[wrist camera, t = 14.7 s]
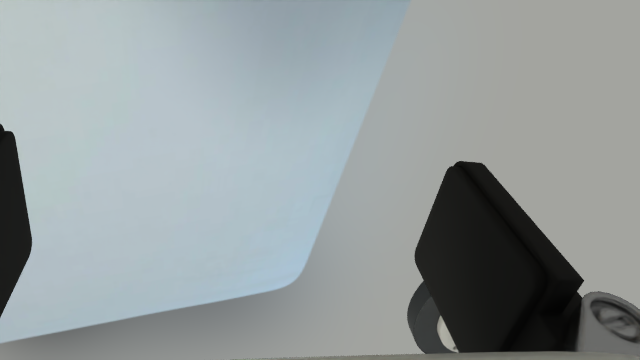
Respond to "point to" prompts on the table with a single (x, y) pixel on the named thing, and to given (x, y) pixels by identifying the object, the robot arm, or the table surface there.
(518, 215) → the robot arm
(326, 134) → the table surface
